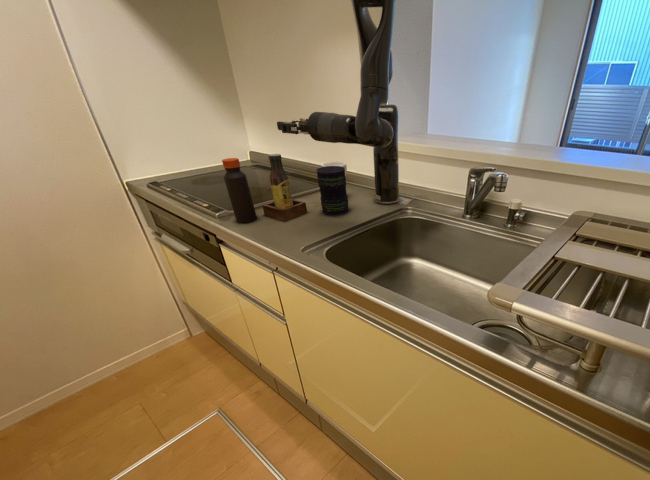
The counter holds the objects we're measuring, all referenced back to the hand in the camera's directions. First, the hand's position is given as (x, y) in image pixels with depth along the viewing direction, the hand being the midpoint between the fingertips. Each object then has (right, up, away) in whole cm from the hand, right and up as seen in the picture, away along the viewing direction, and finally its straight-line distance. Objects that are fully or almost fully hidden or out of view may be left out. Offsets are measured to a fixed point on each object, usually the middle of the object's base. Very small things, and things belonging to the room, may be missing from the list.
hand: (289, 124), depth 103 cm
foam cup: (+8, -12, +36) cm, 39 cm away
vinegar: (-20, -25, +16) cm, 36 cm away
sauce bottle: (-8, -22, +20) cm, 31 cm away
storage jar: (+10, -21, +23) cm, 32 cm away
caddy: (-8, -22, +21) cm, 31 cm away
